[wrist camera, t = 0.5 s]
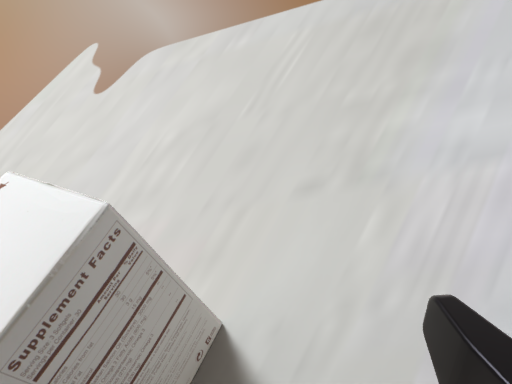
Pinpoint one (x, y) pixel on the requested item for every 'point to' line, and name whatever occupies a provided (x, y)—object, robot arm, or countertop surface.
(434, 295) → the robot arm
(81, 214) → the supplement box
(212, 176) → the countertop surface
